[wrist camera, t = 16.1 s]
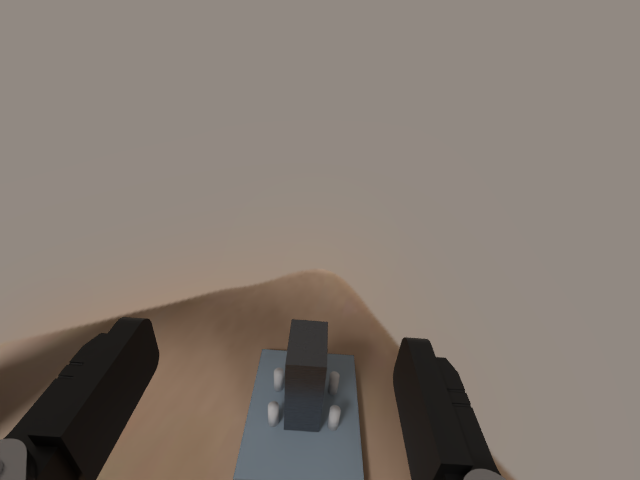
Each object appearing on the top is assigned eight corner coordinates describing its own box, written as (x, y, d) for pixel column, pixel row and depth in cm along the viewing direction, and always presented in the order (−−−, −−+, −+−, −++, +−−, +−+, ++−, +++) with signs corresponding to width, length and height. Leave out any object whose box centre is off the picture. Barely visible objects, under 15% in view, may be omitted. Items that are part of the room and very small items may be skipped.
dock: (234, 485, 32) (231, 462, 30) (262, 356, 46) (261, 333, 44) (362, 493, 33) (369, 471, 30) (352, 362, 46) (356, 340, 44)
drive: (283, 429, 36) (285, 364, 31) (289, 382, 41) (291, 318, 36) (319, 432, 36) (327, 367, 31) (320, 384, 41) (327, 321, 36)
